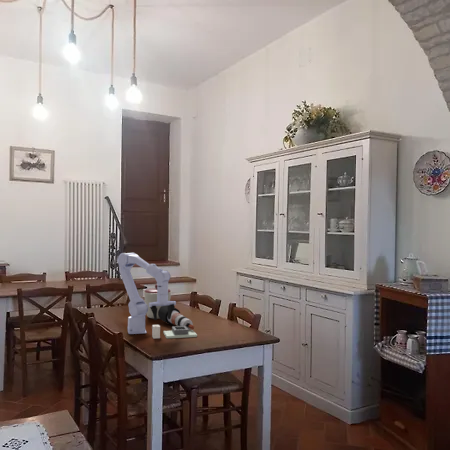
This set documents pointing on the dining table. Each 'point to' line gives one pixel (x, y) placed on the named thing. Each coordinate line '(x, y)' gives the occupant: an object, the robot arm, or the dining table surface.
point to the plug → (155, 331)
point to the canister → (153, 299)
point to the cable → (174, 318)
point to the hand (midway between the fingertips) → (162, 319)
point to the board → (179, 332)
